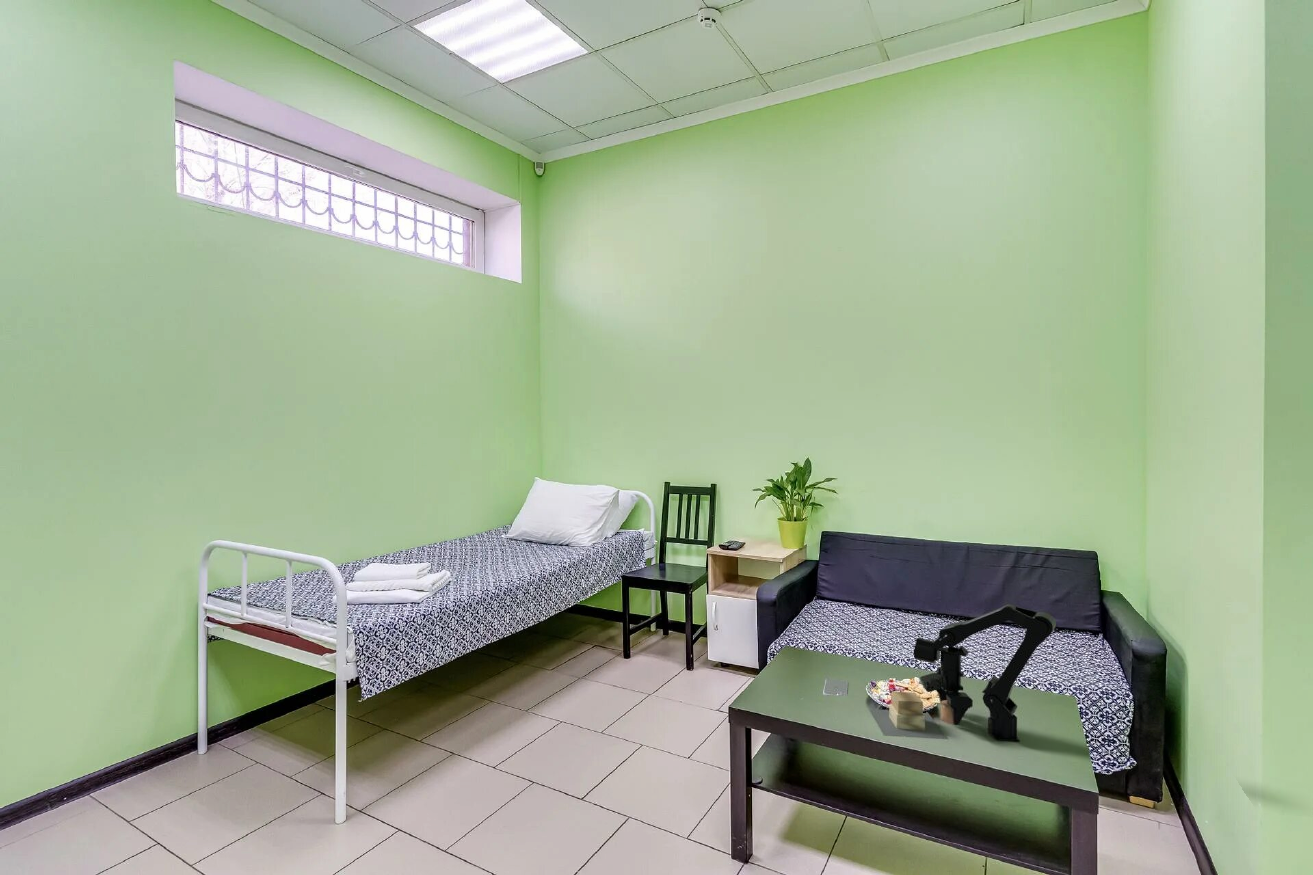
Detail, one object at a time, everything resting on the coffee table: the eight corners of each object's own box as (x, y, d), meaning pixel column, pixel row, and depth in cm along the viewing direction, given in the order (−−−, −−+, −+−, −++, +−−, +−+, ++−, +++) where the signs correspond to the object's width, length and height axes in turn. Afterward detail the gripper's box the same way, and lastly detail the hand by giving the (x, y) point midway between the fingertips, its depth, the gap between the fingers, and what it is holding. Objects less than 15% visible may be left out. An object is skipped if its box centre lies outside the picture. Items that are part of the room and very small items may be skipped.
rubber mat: (927, 713, 196) (927, 712, 196) (948, 740, 178) (948, 738, 178) (868, 710, 198) (868, 708, 198) (883, 736, 180) (883, 735, 180)
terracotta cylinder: (955, 718, 193) (955, 700, 193) (961, 725, 188) (961, 707, 188) (938, 717, 193) (938, 699, 193) (944, 724, 188) (944, 706, 188)
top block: (915, 705, 191) (915, 692, 191) (922, 715, 184) (922, 701, 184) (891, 704, 192) (891, 691, 192) (898, 714, 185) (898, 700, 185)
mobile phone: (848, 680, 221) (846, 696, 207) (848, 682, 221) (846, 699, 207) (825, 677, 224) (822, 692, 210) (825, 680, 224) (822, 695, 209)
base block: (916, 718, 192) (916, 705, 192) (924, 729, 184) (925, 716, 184) (889, 716, 192) (889, 703, 192) (896, 728, 184) (896, 714, 184)
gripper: (913, 655, 201) (913, 703, 201) (933, 676, 182) (933, 730, 182) (949, 656, 200) (949, 705, 200) (973, 678, 181) (973, 732, 181)
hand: (950, 718), depth 191 cm, fingers open, 9 cm apart
